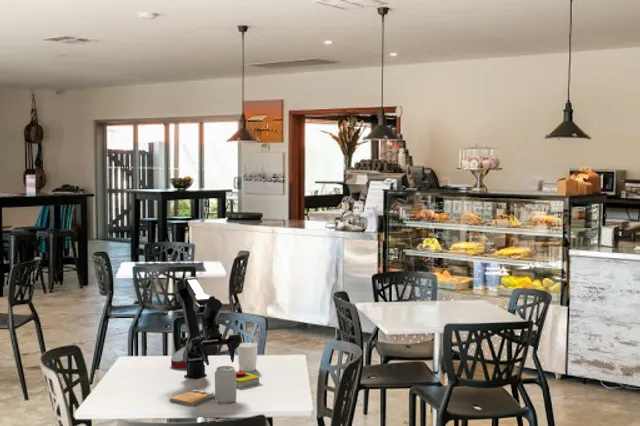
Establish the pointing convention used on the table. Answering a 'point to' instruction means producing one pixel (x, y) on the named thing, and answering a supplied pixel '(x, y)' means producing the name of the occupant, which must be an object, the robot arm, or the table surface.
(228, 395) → the can
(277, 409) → the table surface
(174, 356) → the grey red slanted block
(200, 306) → the robot arm
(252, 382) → the emergency button
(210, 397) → the indicator board
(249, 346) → the white cup
